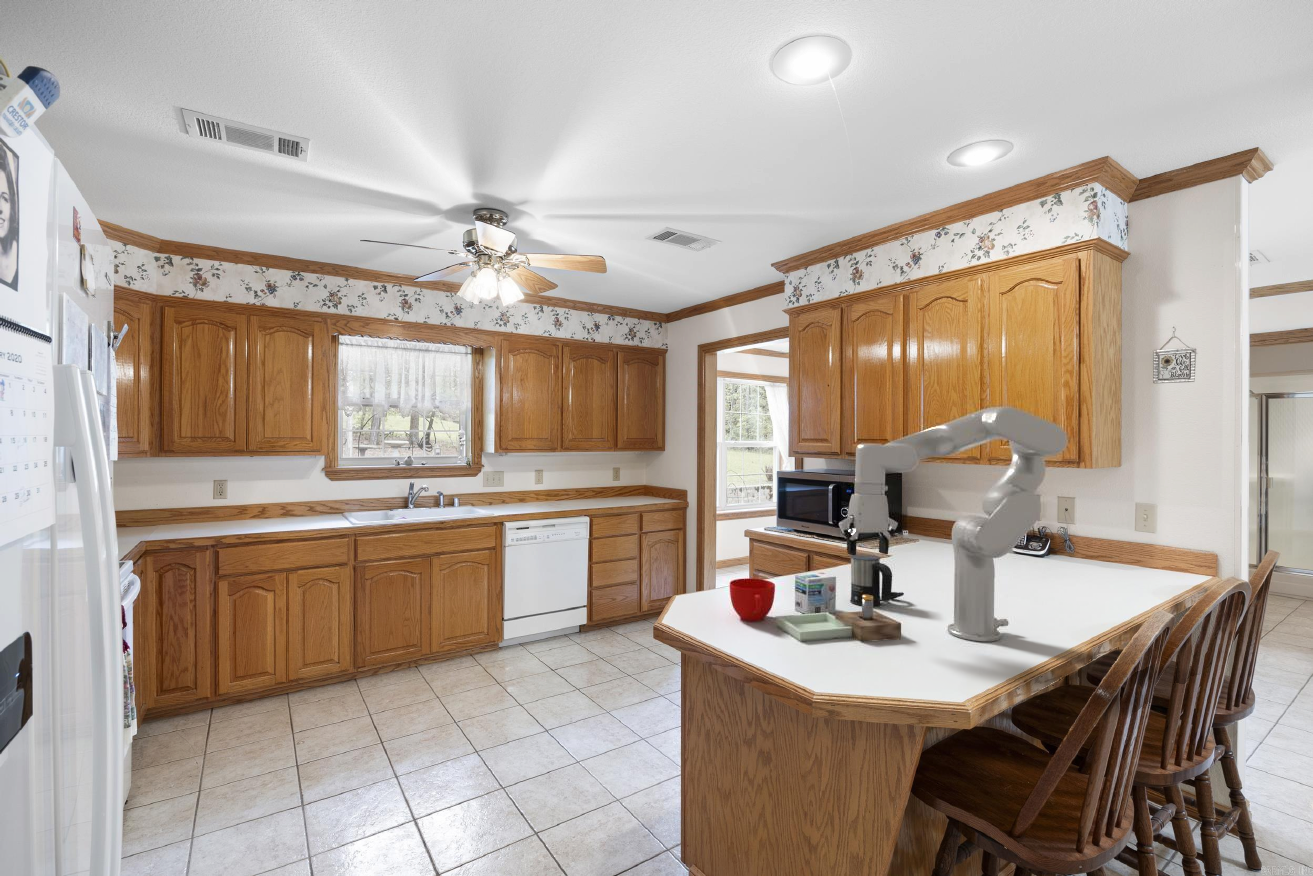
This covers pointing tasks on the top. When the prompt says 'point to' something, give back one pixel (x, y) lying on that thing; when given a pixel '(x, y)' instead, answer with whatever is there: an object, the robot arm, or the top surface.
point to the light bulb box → (815, 593)
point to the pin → (867, 607)
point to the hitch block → (870, 626)
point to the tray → (813, 626)
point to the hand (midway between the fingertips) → (867, 554)
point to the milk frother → (870, 579)
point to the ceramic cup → (752, 598)
